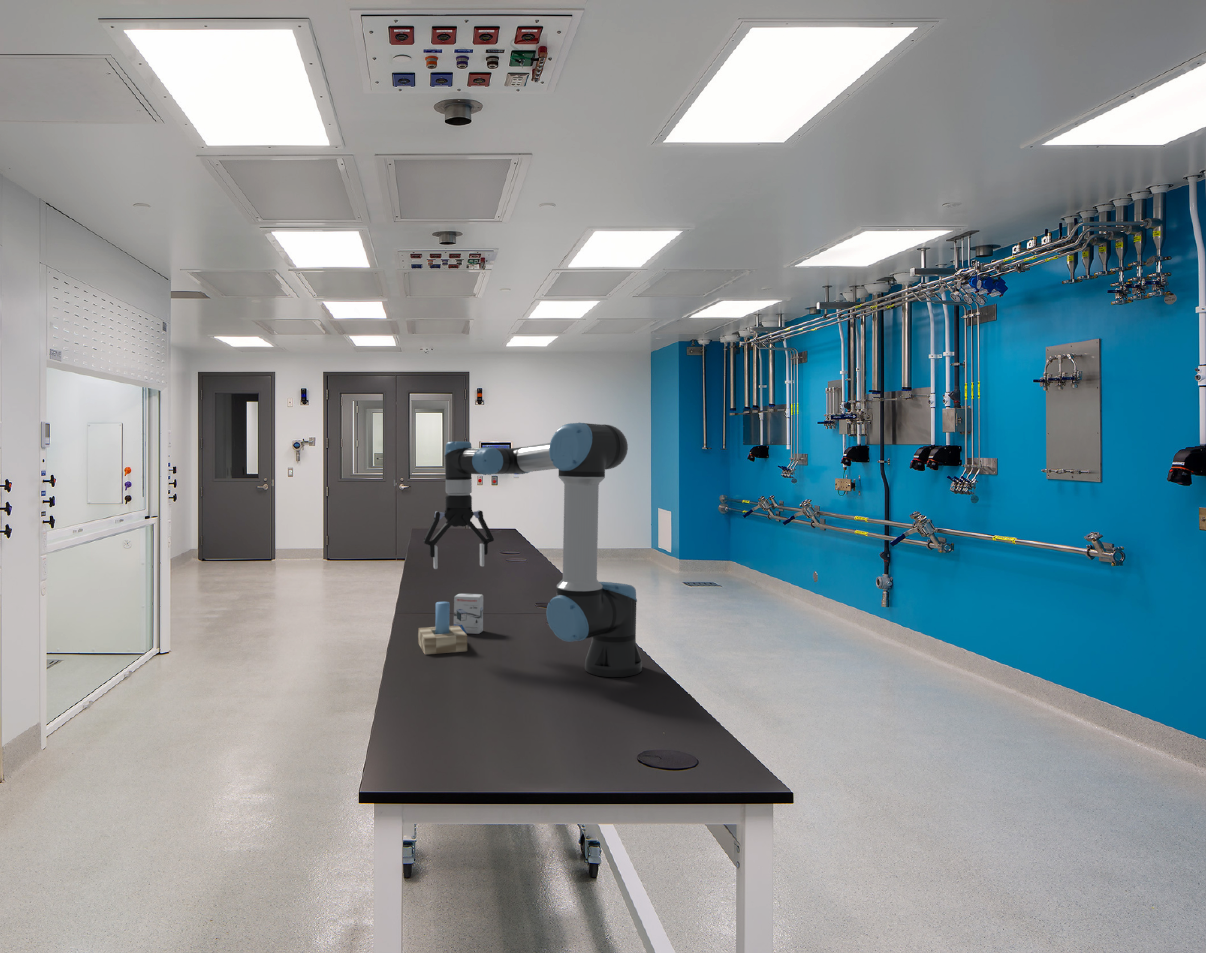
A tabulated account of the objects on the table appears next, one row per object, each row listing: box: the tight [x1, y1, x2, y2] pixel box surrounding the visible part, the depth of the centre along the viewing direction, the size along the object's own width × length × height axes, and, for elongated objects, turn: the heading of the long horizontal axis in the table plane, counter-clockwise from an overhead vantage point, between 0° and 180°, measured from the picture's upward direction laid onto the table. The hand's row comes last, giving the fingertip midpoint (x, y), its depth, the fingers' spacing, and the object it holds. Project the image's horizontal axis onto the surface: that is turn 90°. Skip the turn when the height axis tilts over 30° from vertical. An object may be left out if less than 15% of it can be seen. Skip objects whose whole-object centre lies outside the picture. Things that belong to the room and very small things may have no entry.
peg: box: [434, 601, 451, 634], centre depth 227 cm, size 4×4×13 cm
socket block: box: [417, 625, 468, 655], centre depth 227 cm, size 14×12×4 cm
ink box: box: [453, 593, 484, 635], centre depth 247 cm, size 9×5×12 cm, turn 84°
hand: (459, 567), depth 226 cm, fingers open, 13 cm apart
